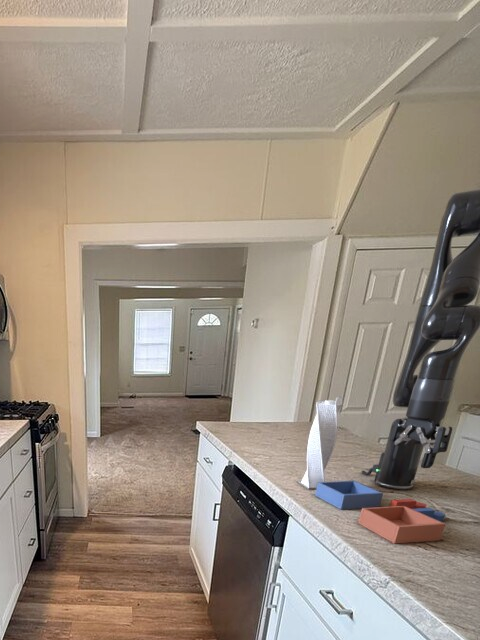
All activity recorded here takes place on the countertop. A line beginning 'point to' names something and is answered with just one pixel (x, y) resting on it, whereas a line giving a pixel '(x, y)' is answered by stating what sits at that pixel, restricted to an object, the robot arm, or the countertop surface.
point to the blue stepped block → (431, 513)
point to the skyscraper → (321, 442)
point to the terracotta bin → (401, 524)
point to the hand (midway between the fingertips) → (410, 463)
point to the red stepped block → (408, 503)
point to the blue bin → (348, 494)
